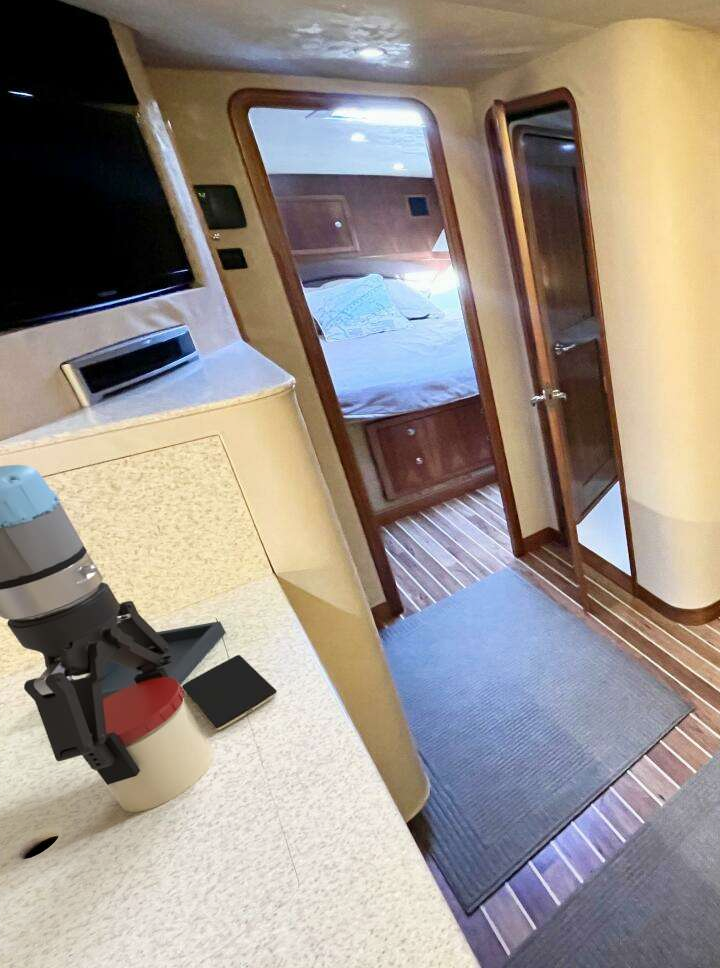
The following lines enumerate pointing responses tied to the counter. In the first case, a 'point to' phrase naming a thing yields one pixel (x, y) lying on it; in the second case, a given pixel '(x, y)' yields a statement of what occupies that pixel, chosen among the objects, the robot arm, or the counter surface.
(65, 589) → the robot arm
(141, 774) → the jar
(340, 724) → the counter surface
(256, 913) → the counter surface
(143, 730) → the lid
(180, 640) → the tray
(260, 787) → the counter surface
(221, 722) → the smartphone
